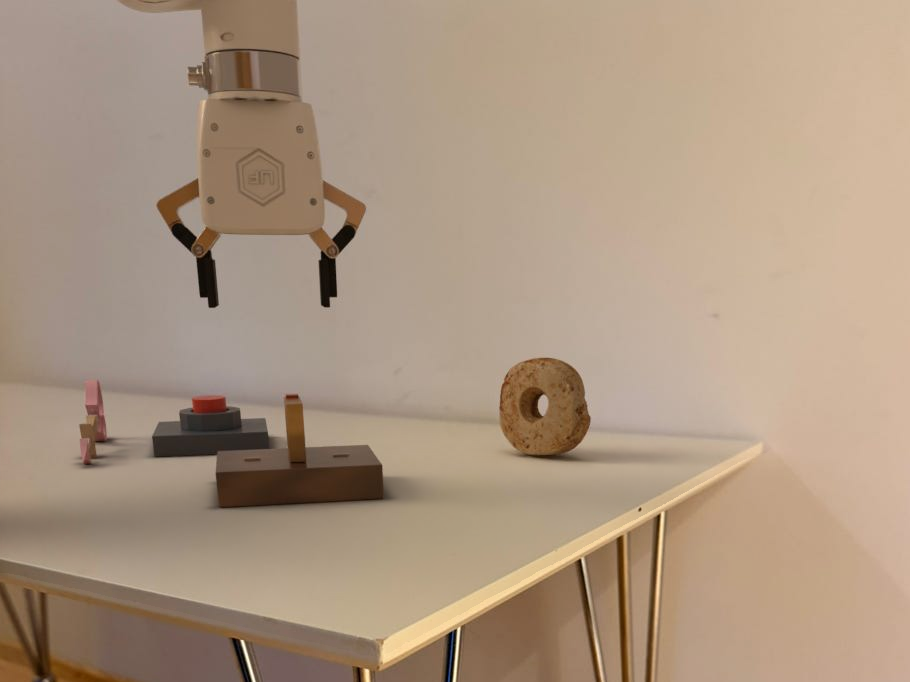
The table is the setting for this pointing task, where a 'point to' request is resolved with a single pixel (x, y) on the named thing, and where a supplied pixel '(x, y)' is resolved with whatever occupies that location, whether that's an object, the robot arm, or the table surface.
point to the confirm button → (209, 404)
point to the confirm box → (209, 433)
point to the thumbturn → (295, 428)
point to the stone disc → (562, 416)
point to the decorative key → (92, 422)
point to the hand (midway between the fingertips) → (270, 306)
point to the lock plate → (298, 476)
